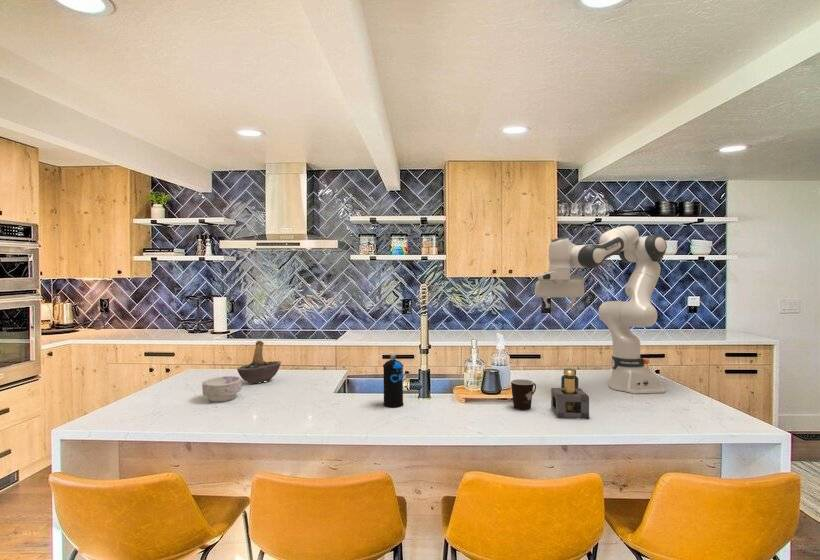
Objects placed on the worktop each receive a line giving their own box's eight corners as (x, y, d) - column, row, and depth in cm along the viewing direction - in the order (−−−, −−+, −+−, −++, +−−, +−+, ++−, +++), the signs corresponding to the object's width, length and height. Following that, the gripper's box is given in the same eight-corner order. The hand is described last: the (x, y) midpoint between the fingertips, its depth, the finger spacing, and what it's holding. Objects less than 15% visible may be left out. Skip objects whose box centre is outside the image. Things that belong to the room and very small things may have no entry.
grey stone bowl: (194, 402, 182) (193, 383, 182) (219, 392, 197) (219, 374, 197) (225, 405, 178) (225, 385, 178) (249, 395, 193) (248, 376, 193)
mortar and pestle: (282, 379, 221) (282, 338, 220) (264, 387, 204) (263, 344, 204) (255, 377, 224) (255, 337, 223) (235, 386, 208) (234, 343, 207)
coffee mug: (516, 411, 168) (516, 385, 168) (507, 404, 177) (507, 379, 177) (544, 410, 170) (544, 384, 170) (535, 403, 179) (535, 378, 179)
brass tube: (573, 411, 168) (573, 369, 167) (576, 415, 164) (576, 371, 164) (563, 411, 168) (563, 369, 168) (565, 414, 164) (565, 371, 164)
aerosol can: (378, 404, 178) (378, 355, 177) (393, 400, 184) (393, 352, 183) (393, 409, 172) (393, 357, 172) (407, 404, 178) (407, 354, 178)
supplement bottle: (579, 401, 181) (579, 371, 181) (562, 400, 183) (562, 371, 182) (577, 396, 188) (577, 368, 188) (560, 395, 190) (560, 367, 189)
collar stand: (580, 409, 171) (580, 388, 171) (589, 418, 160) (589, 396, 160) (551, 408, 172) (551, 387, 172) (557, 417, 161) (557, 395, 161)
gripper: (582, 275, 192) (582, 307, 193) (534, 275, 195) (533, 307, 195) (586, 275, 186) (586, 308, 187) (536, 275, 188) (536, 308, 189)
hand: (559, 307), depth 191 cm, fingers open, 8 cm apart
